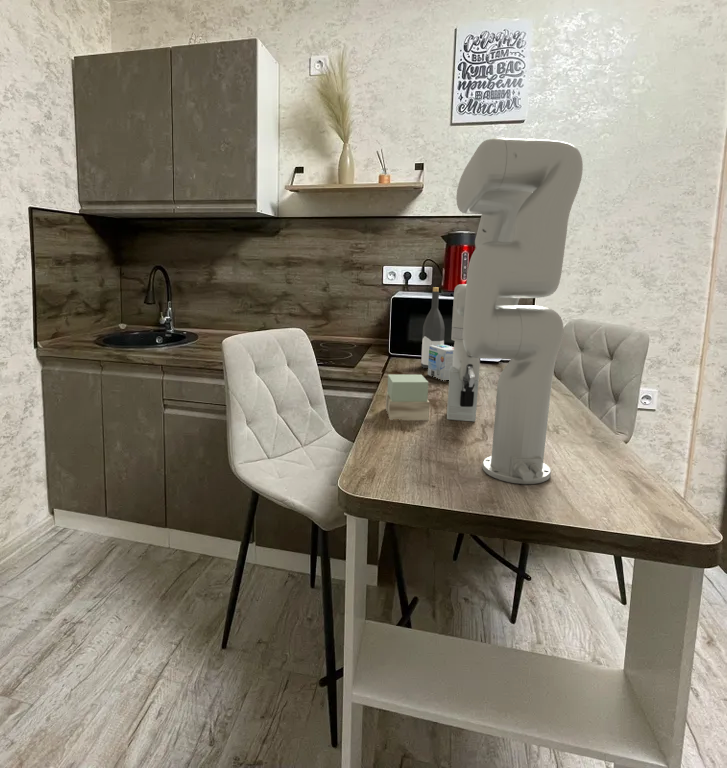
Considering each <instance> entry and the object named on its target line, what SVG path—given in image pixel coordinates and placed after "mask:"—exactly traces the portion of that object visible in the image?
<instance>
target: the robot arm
mask: <svg viewBox="0 0 727 768" xmlns="http://www.w3.org/2000/svg"><path fill="white" fill-rule="evenodd" d="M583 163H584V162H583V157H582V154H581V152H580V150H579V149H578V148H577V146H575V145H573V144H571V143H568V142H565V141H560V140H552V139H536V138H527V139H526V138H510V137H506V138H505V137H494V138H493V137H492V138H488V139H485V140H484V141H482V142H481V143H480V144H479V145H478V147H477V148H476V150H475V151H474V153H473V155H472V156H471V158H470V159H469V162H467V165H466V166H465V168H464V169H463V172H462V174H461V177H460V179H459V182H458V185H457V189H456V196H455V197H456V199H455V200H456V205H457V208H458V211H460V212H461V213H462V214H465V215H466V214H467V215H480V216H481V217H480V221H479V222H478V223H479V224H478V228H477V233H476V235H475V238H474V239H475V240H474V245H475V249H474V251H473V253H472V254H471V256H470V259H469V264H468V268H467V276H466V283H462V284H457V285H456V286H455V287H454V292H453V306H452V319H451V321H452V322H451V341H454V344H453V347H454V351H453V364H452V367H453V368H455V369H456V370H457V371H458V372H459V380H460V381H462V391H461V396H460V406H461V407H472V406H473V400H474V386H475V384H474V382H475V380H476V381H478V380H480V368H481V367H480V366H481V365H480V363H481V359H487V360H488V359H489V360H490V359H491V360H492V359H493V360H495V359H497V360H499V359H502V360H509V362H507V364H506V365H505V367H504V368H503V370H502V371H501V373H500V375H499V378H498V380H497V387H496V397H495V398H496V399H495V410H494V422H493V434H492V446H491V455H490V456H488V457H485V458H484V459H483V461H482V470H483V472H485V474H487V475H488V476H490V477H492V478H494V479H496V480H499V481H503V482H507V483H512V484H518V485H519V484H520V485H535V484H541V483H544V482H547V481H548V480H549V479H550V478H551V473H552V470H551V467H550V466H549V465H548V464H546V463H545V462H544V459H545V458H544V456H545V448H546V438H547V430H548V423H549V422H548V421H549V420H548V419H549V411H550V402H551V393H552V385H553V377H554V373H555V372H554V371H555V367H556V361H557V358H558V354H559V351H560V348H561V345H562V342H563V338H564V321H563V319H562V317H561V316H560V314H559V313H558V312H557V311H556V310H554V309H552V308H550V307H547V306H541V305H525V304H524V305H522V304H521V305H520V304H519V303H520V302H519V301H520V299H536V298H537V299H538V298H539V299H540V298H547V297H550V296H552V295H553V294H554V293H556V291H557V290H558V288H559V284H560V282H561V277H562V271H563V264H564V256H565V248H566V240H567V235H568V234H567V233H568V224H569V219H570V218H569V217H570V213H571V209H572V206H573V204H574V201H575V200H576V197H577V195H578V191H579V189H580V185H581V182H582V177H583V167H584V166H583ZM466 370H467V371H466ZM466 372H467V374H468V379H464V376H465V374H466ZM465 382H467V383H466V385H465Z"/></svg>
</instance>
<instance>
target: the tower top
mask: <svg viewBox="0 0 727 768" xmlns="http://www.w3.org/2000/svg"><path fill="white" fill-rule="evenodd" d="M386 390H387V391H386V392H387V393H388V395H389V397H390V399H391V401H392V402H427V400H428V401H429V399H428V395H429V381H428V380H427V379H426V378H425V377H424V375H422V374H387V389H386Z"/></svg>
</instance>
